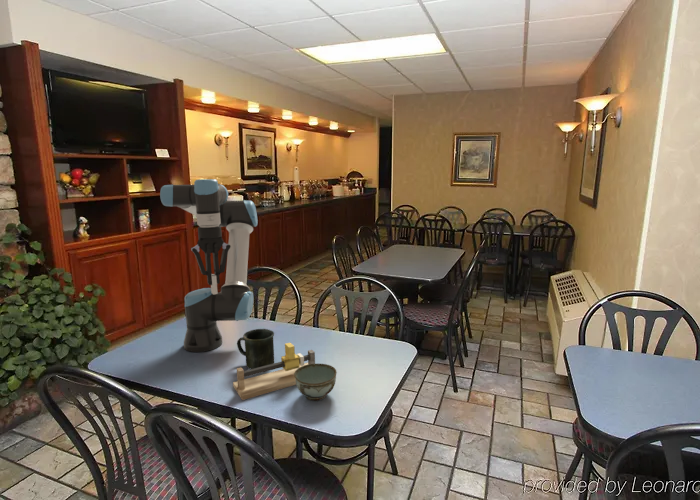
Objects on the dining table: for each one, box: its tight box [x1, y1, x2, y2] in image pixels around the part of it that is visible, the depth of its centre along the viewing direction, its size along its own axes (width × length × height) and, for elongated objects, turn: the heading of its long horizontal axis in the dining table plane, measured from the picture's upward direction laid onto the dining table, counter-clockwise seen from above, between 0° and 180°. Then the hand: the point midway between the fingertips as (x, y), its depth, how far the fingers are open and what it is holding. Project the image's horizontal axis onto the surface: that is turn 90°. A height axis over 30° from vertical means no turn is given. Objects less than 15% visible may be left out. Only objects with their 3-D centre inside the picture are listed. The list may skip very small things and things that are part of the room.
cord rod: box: [244, 354, 310, 378], centre depth 143 cm, size 1×24×1 cm, turn 121°
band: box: [296, 352, 305, 366], centre depth 147 cm, size 3×1×3 cm, turn 31°
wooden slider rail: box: [232, 349, 316, 401], centre depth 143 cm, size 10×28×8 cm, turn 121°
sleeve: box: [280, 342, 299, 371], centre depth 144 cm, size 4×5×8 cm
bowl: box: [294, 363, 338, 402], centre depth 134 cm, size 14×13×8 cm
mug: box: [236, 328, 275, 370], centre depth 156 cm, size 11×15×12 cm
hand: (214, 293), depth 146 cm, fingers closed
